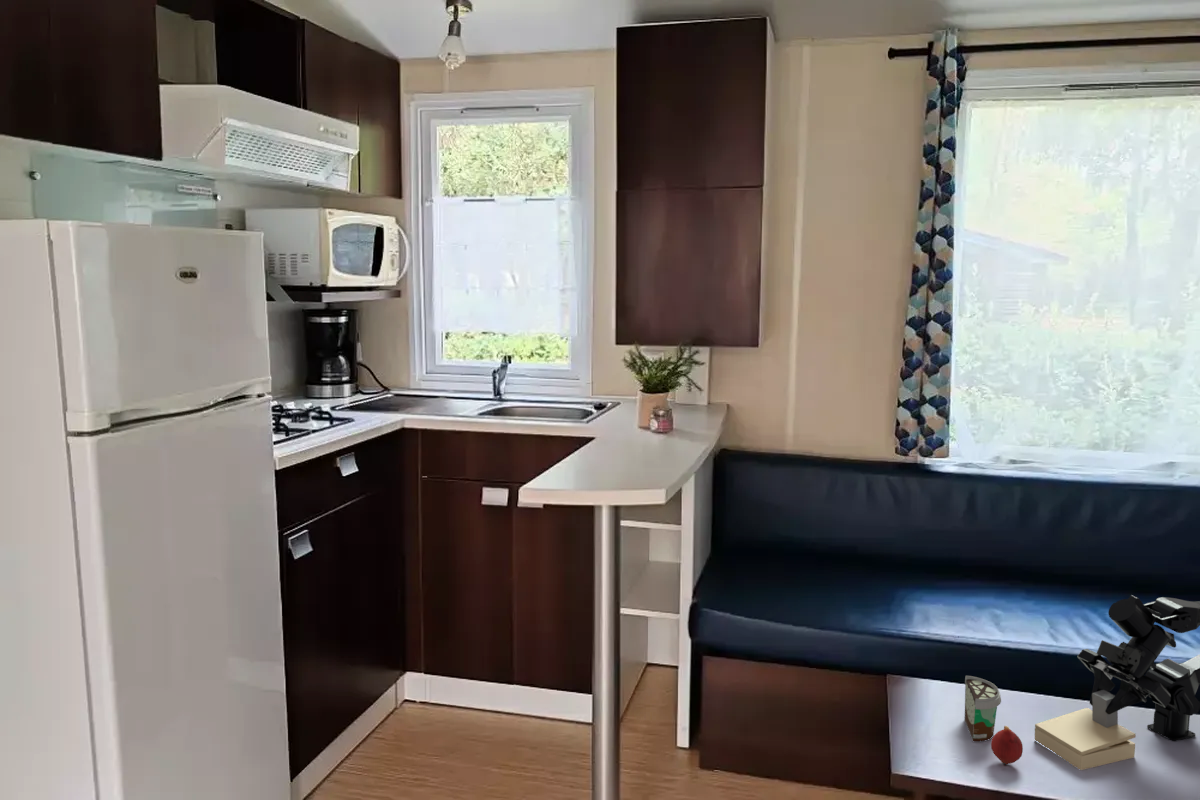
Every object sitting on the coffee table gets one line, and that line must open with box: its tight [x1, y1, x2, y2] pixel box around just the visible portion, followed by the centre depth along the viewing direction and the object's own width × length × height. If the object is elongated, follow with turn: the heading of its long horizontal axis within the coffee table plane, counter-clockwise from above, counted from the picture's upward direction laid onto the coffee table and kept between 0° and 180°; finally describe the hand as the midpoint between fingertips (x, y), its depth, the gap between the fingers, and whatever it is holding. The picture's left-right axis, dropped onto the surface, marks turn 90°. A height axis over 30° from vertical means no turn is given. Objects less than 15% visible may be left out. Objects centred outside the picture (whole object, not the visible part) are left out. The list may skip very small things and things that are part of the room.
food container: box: [964, 675, 1002, 743], centre depth 197 cm, size 12×6×10 cm, turn 168°
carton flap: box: [1034, 690, 1137, 756], centre depth 189 cm, size 14×12×7 cm
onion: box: [990, 725, 1024, 765], centre depth 185 cm, size 6×6×8 cm
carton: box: [1034, 727, 1136, 771], centre depth 190 cm, size 14×12×3 cm
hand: (1098, 708), depth 190 cm, fingers closed on carton flap, 3 cm apart
